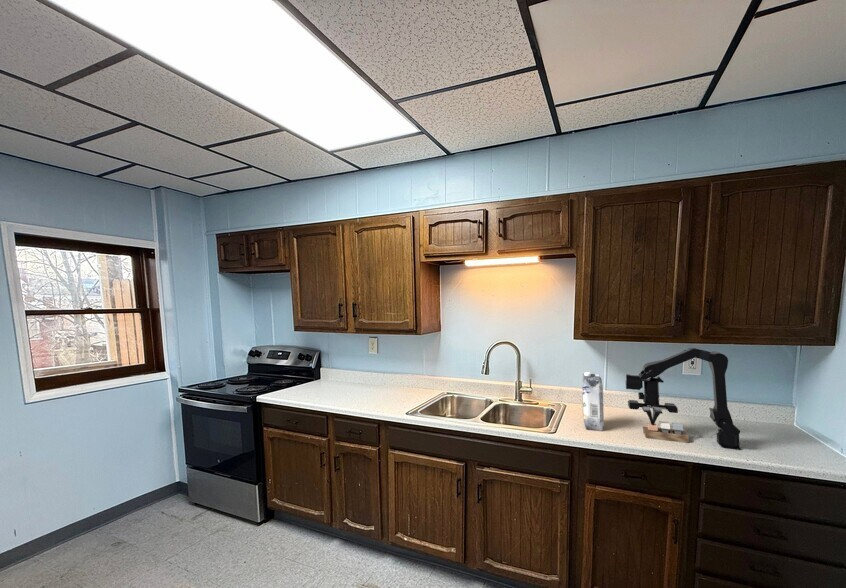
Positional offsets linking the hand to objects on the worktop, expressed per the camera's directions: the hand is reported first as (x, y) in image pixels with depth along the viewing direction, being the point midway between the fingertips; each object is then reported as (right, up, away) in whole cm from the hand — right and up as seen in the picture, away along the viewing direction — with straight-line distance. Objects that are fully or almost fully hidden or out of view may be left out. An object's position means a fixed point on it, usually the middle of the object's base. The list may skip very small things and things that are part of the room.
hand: (652, 424), depth 162 cm
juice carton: (-21, -6, +12) cm, 25 cm away
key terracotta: (0, -5, 0) cm, 5 cm away
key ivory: (+4, -3, -2) cm, 6 cm away
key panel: (+4, -5, -2) cm, 7 cm away
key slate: (+9, -3, -4) cm, 10 cm away
